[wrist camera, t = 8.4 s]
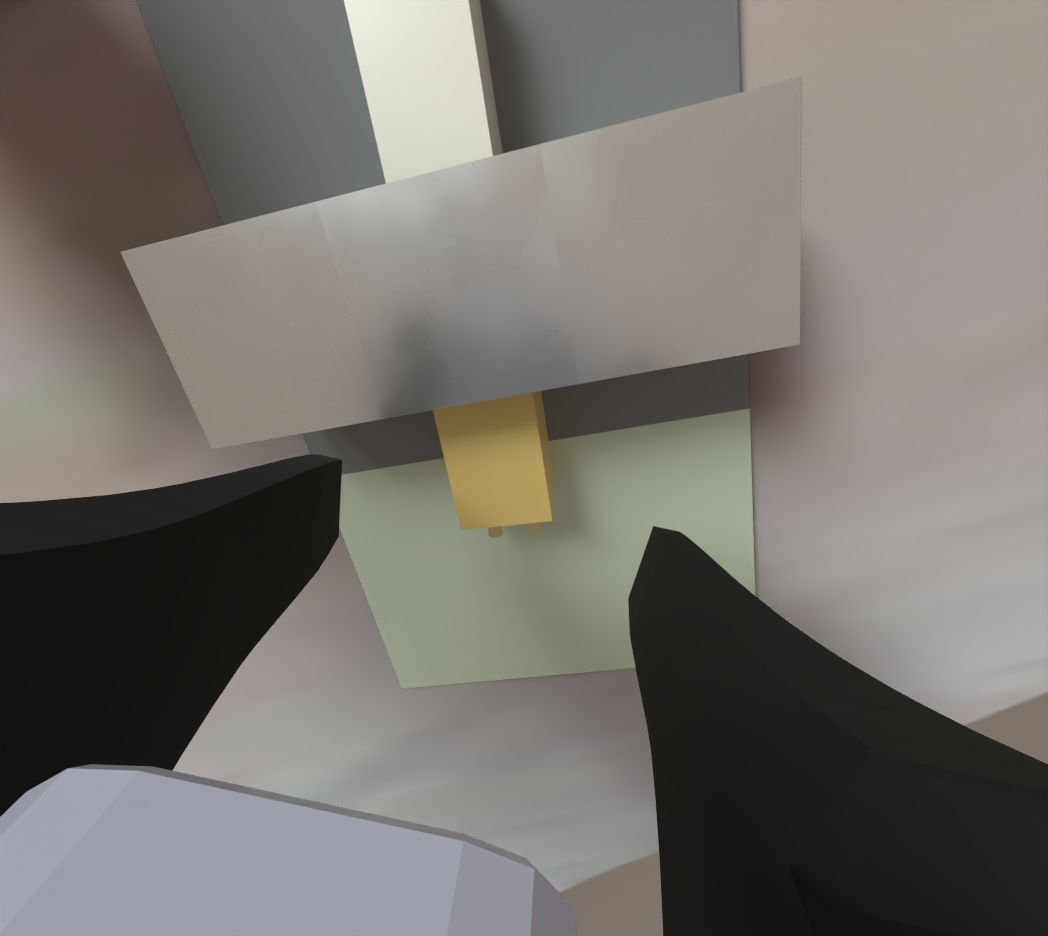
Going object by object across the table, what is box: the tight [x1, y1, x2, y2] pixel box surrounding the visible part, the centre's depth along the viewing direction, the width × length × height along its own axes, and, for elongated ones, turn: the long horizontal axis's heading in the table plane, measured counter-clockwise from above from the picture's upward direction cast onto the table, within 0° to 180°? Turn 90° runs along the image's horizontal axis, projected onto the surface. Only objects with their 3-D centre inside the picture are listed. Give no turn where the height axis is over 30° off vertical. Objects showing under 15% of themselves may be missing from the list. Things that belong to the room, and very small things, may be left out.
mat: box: [136, 0, 755, 689], centre depth 15 cm, size 37×16×1 cm, turn 11°
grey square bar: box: [120, 77, 802, 450], centre depth 13 cm, size 5×15×5 cm, turn 101°
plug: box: [344, 0, 555, 538], centre depth 14 cm, size 16×3×3 cm, turn 9°
